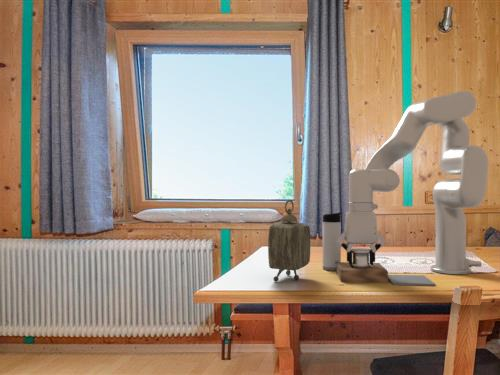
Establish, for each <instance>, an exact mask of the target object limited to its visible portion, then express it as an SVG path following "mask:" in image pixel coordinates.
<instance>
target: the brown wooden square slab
mask: <svg viewBox="0 0 500 375" xmlns="http://www.w3.org/2000/svg"><path fill="white" fill-rule="evenodd" d="M336 274H337V276H338V279H339V280H340V282H341V283H342V282H343V283H345V282H346V283H347V282H348V283H381V284H382V283H383V284H384V283H385V284H386V283H387V284H388V283H389V280H388V275H389V272H388V269H386V268H385V267H384V266H383V265H382V264H381V263H380V262H373V265H371V264H370V263H369V268H353V261H352V264H351V265H350V264H349V262H347V261H345V262H344V261H341V262H337V271H336Z"/></svg>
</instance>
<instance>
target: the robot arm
mask: <svg viewBox="0 0 500 375" xmlns="http://www.w3.org/2000/svg"><path fill="white" fill-rule="evenodd" d="M476 106H477V100H476V97H475V95H474V94H473V93H471V92H470V91H468V90H459V91H456V92H452V93H449V94H448V93H447V94H445V95H441V96H434V97H431V98H426V99H423V100H419V101H417V102H414V103H411V104H410V105H409V106H408V107H407V109H405V111H404V113H403V115H402V116H401V118H400V120H399V121H398V124H397V126H396V128H395V129H394V130H393V132H392V135H391V136H390V138H389V139H388V140H387V141H386V142H385V143H384V144H383V145H382V146H381V147H380V148H378V150H377V151H376V152H375V153H374V154H373V156H372V157H371V158H370V159H369V161H368V163H367V164H366V166H365V168H363V169H360V168H359V169H351V170H350V171H349V172H348V211H346V212H345V219H344V230H343V232H341V235H340V236H339V237H338V238H337V239H336V241H337V242H338V243H339V244H340V245H341V247H342V248H343V249H344V250H345V251H346V262H349V264H350V265H351V264H352V262H353V253H352V252H351V249H352V248H353V245H354V244H357V245H358V244H359V245H361V244H362V245H363V244H364V245H369V247H370V248H369V249H370V250H371V253H369V263H370V264H371V265H373V263H376V253H377V251H378V250H379V249H380V248H382V246H383V245H384V244H385V243H386V242H387V240H386V239H385V238H384V237H383V236H382V235H381V233H379V232H378V221H377V216H376V212H375V211H374V210H377V209H379V204H375V203H374V192H375V193H391V192H393V191H395V190H396V189H398V187H399V185H400V183H401V182H400V175H399V174H398V172H396V171H395V170H392V169H390V168H391V166H392V165H394V164H395V163H396V162H398V161H400V160H402V159H404V158H405V157H407V156H408V155H409V154H411V153H412V152H413V151H414V150H415V149H416V147H417V146H418V144H419V141H420V140H421V138H422V136H423V134H424V133H425V132H426V131H425V130H426V129H427V127H428V126H434V125H438V126H439V128H440V130H441V134H442V135H441V136H442V138H441V139H442V143H441V149H440V150H441V152H440V161H439V165H440V170H441V171H442V172H443V173H444V174H446V175H451V176H460V178H446V179H445V178H444V179H442V180H439V181H438V182H436V183H435V185H434V186H433V188H432V201H433V205H434V212H435V214H434V215H435V263H434V264H432V265H430V270H431V271H432V272H435V273H440V274H445V275H468V274H471V273H472V267H477V268H478V267H479V268H481V267H482V261H481V260H471V259H469V258H467V217H466V215H465V212H464V210H463V208H465V209H466V208H468V209H472V208H477V207H479V206H481V204H482V203H483V202H484V199H485V196H486V192H487V183H488V173H489V157H488V155H487V152H486V151H485V149H484V148H482V147H481V146H478V145H470V137H471V136H470V135H471V134H470V133H471V132H470V129H469V126H468V125H467V122H466V121H465V120H464V118H467V117H469V116H471V115H472V114H473V113H474V112H475V109H476V108H477V107H476ZM343 240H344V241H345V242H346V243H347V244H346V243H345V242H344V241H343ZM378 240H379V242H378ZM377 242H378V243H377ZM375 243H376V244H375Z"/></svg>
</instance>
